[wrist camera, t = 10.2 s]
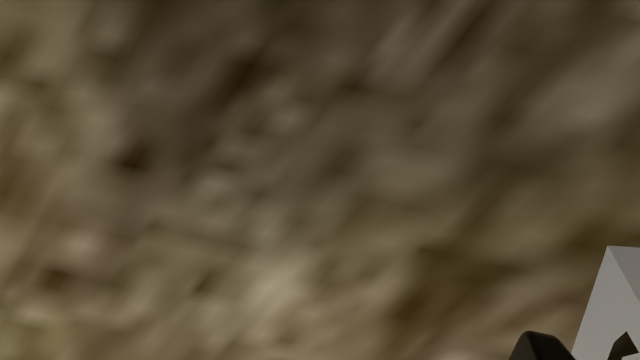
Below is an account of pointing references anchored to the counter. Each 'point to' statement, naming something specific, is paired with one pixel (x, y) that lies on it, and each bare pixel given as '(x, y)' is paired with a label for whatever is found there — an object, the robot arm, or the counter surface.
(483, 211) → the counter surface
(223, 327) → the counter surface
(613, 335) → the grater
